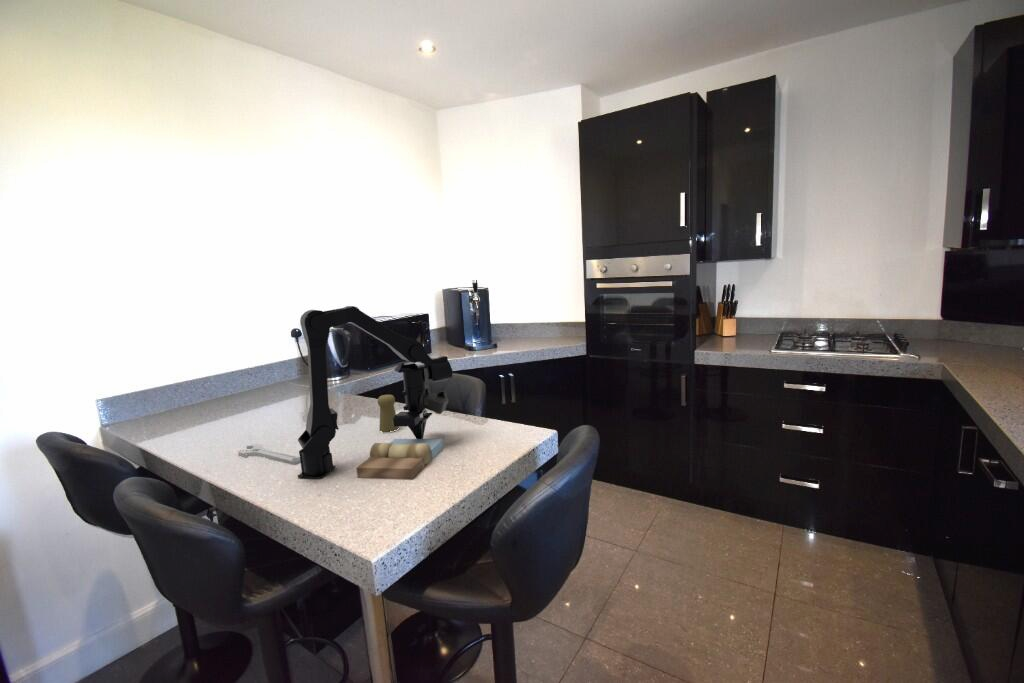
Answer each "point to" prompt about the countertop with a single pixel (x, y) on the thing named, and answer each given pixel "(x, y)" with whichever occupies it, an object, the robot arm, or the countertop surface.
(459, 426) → the countertop surface
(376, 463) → the wooden tray with rolls
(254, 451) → the adjustable wrench
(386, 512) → the countertop surface
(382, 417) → the cork
